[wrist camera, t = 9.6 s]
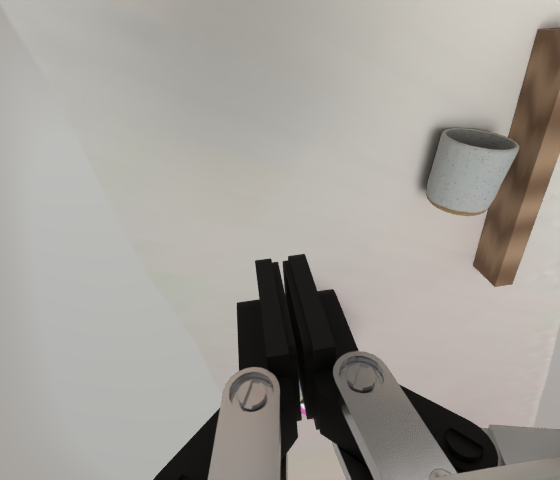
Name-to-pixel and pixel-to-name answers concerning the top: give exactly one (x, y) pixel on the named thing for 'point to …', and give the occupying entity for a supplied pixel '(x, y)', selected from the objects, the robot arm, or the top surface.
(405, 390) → the robot arm
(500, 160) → the ceramic mug
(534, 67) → the walnut board
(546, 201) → the top surface
